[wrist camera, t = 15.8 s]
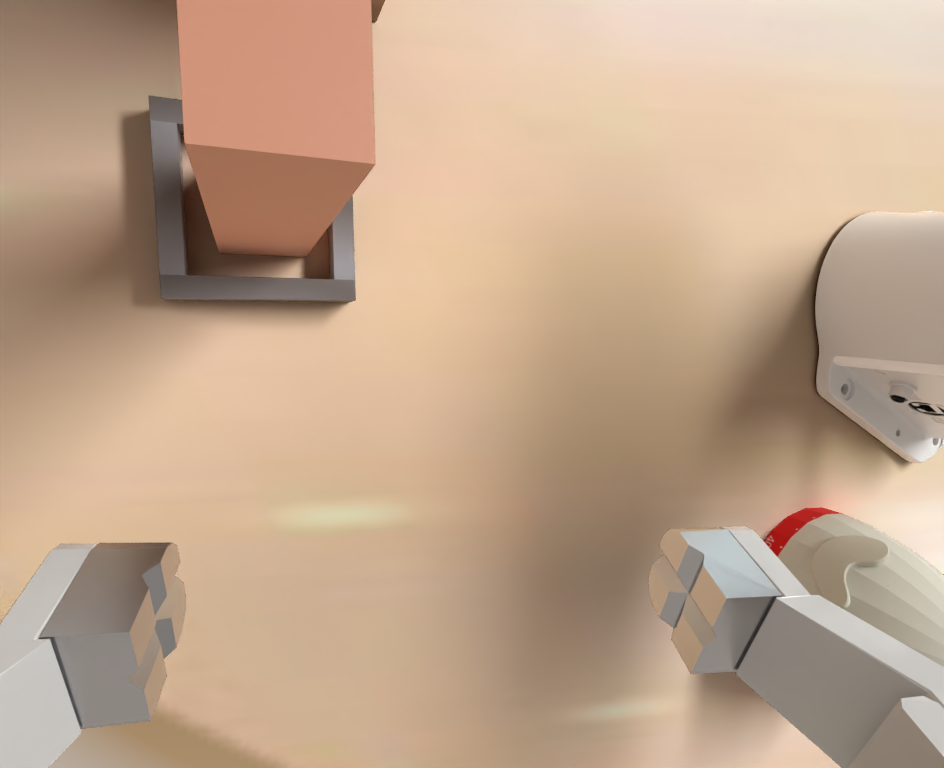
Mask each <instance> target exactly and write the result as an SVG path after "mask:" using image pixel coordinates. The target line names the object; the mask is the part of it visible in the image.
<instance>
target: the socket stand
mask: <svg viewBox="0 0 944 768" xmlns="http://www.w3.org/2000/svg"><path fill="white" fill-rule="evenodd" d="M384 1H385V0H371V12H372V21H375V22H376V21H377V18H378V16H379V14H380V11H381V9H382V6H383V4H384ZM149 110H150V126H151V143H152V159H153V175H154V192H155V208H156V224H157V241H158V257H159V273H160V290H161V298H163V299H165V300H226V301H306V302H352V301H355V300H356V298H355V264H354V231H353V197H352V196H351V197H350V199H349V200H348V202H347V203H346V204H345V206H344V207H343V208H342V210H341V211H340V212H339V214H338V215H337V216H336V218H335V219H334V220H333V222H332V223H331V224H330V226H329V227H328V236H329V266H330V279H304V278H268V277H232V276H196V275H188V261H187V243H186V225H185V208H184V190H183V172H182V155H181V137H180V135H184V125H183V107H182V100H177V99H170V98H162V97H155V96H149Z"/></svg>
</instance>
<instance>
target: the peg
mask: <svg viewBox="0 0 944 768" xmlns="http://www.w3.org/2000/svg"><path fill="white" fill-rule="evenodd" d="M177 18H178V36H179V54H180V72H181V89H182V107H183V125H184V143H185V146H186V150H187V153H188V156H189V159H190V162H191V165H192V169H193V172H194V175H195V178H196V181H197V184H198V188H199V191H200V194H201V197H202V200H203V203H204V207H205V210H206V213H207V216H208V219H209V222H210V226H211V229H212V232H213V235H214V238H215V241H216V245H217V248H218V251H219V253H230V254H254V255H277V256H301V257H306V256H307V255H308V254H309V252H310V251H311V250H312V248H313V247H314V246H315V244H316V243H317V242H318V240H319V239H320V238H321V236H322V235H323V234H324V232H325V231H326V230H327V228H328V227H329V226H330V224H331V223H332V222H333V220H334V219H335V218H336V216H337V215H338V214H339V212H340V211H341V210H342V208H343V207H344V206H345V204H346V203H347V202H348V200H349V199H350V197H351V196H352V195H353V193H354V192H355V191H356V189H357V188H358V187H359V185H360V184H361V183H362V181H363V180H364V179H365V177H366V176H367V175H368V173H369V172H370V171H371V169H372V168H373V167H374V165H375V127H374V89H373V50H372V12H371V0H177Z"/></svg>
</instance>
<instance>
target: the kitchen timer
mask: <svg viewBox="0 0 944 768" xmlns="http://www.w3.org/2000/svg"><path fill="white" fill-rule="evenodd" d="M764 542H765V544H766V545H767V546H768V547H769V548H770V549H771V550H772V552H773V553H774V554H775V555H776V556H777V557H778V558H779V559H780V561H781V562H782V563H783V564H784V565H785V566H786V567H787V569H788V570H789V571H790V572H791V573H792V574H793V575H794V577H795V578H796V579H797V580H798V581H799V582H800V583H801V584H802V586H803V587H804V588H805V589H806V590H807V591H808V592H809V594H810V595H820V596H821V597H823V598H825V599H827V600H828V601H830V602H832V603H833V604H835V605H837V606H839V607H840V608H842V609H844V610H846V611H847V612H849V613H851V614H853V615H854V616H856V617H858V618H859V619H861V620H863V621H865V622H866V623H868V624H870V625H872V626H873V627H875V628H877V629H879V630H880V631H882V632H884V633H885V634H887V635H889V636H891V637H892V638H894V639H896V640H898V641H899V642H901V643H903V644H904V645H906V646H908V647H910V648H911V649H913V650H915V651H917V652H918V653H920V654H922V655H924V656H925V657H927V658H929V659H930V660H932V661H934V662H936V663H937V664H939V665H941V666H943V667H944V574H942V573H941V572H939V571H938V570H937V569H936V568H935V567H934V566H933V565H932V564H931V563H929V562H928V561H927V560H925V559H924V558H923V557H921V556H920V555H919V554H917V553H916V552H914V551H913V550H911V549H910V548H908V547H906V546H905V545H903V544H902V543H900V542H899V541H897V540H895V539H894V538H892V537H891V536H889V535H887V534H886V533H884V532H882V531H880V530H879V529H877V528H875V527H873V526H871V525H869V524H867V523H864V522H862V521H859V520H857V519H854V518H852V517H849V516H847V515H844V514H842V513H839V512H835V511H832V510H828V509H825V508H805V509H803V510H801V511H799V512H796V513H794V514H792V515H790V516H788V517H787V518H785V519H784V520H783V521H782V522H781V523H780V524H779V525H777V526H776V527H775V528H774V529H773V530H772V531H771V532H770V533H769V535H768V536H767V538H766V539H765V541H764Z"/></svg>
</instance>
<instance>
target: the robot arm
mask: <svg viewBox="0 0 944 768" xmlns="http://www.w3.org/2000/svg"><path fill="white" fill-rule="evenodd" d="M815 315H816V327H817V334H818V341H819V360H818V367H817V376H816V386H817V391H818V393H819V394H820V396H821V397H823V398H824V399H825V400H827V401H828V402H829V403H831V404H832V405H833V406H835V407H836V408H837V409H839V410H840V411H841V412H843V413H844V414H845V415H846V416H848V417H849V418H850V419H852V420H853V421H854V422H856V423H857V424H858V425H860V426H861V427H862V428H864V429H865V430H866V431H868V432H869V433H870V434H872V435H873V436H874V437H876V438H877V439H878V440H880V441H881V442H882V443H884V444H885V445H886V446H888V447H889V448H890V449H892V450H893V451H894V452H895V453H897V454H898V455H899V456H901V457H902V458H904V459H905V460H906V461H908V462H915V463H922V462H924V461H926V460H928V459H929V458H931V457H932V456H933V455H934V454H935V453H936V452H938V451H939V450H940V448H941V447H942V446H943V445H944V211H942V212H935V211H931V210H929V211H919V212H913V213H901V212H882V211H873V212H868V213H864V214H862V215H860V216H858V217H856V218H855V219H853V220H852V221H850V222H849V223H848V224H847V225H846V226H845V227H844V228H843V229H842V230H841V231H840V233H839V234H838V235H837V236H836V238H835V239H834V241H833V243H832V244H831V246H830V248H829V250H828V252H827V254H826V257H825V259H824V262H823V265H822V268H821V271H820V275H819V280H818V285H817V291H816V304H815ZM660 547H661V549H662V551H663V553H664V554H663V555H662V556H661V557H660V558H659V559H658V560H657V561H655V562H654V563H653V565H652V568H651V571H650V574H649V577H648V581H649V594H650V598H651V601H652V604H653V606H654V608H655V610H656V612H657V614H658V616H659V617H660V618H661V619H662V620H664V621H665V622H666V623H668V624H669V625H670V626H672V627H673V632H672V638H671V640H672V641H673V643H674V645H675V647H676V649H677V650H678V652H679V654H680V656H681V658H682V659H683V661H684V663H685V665H686V666H687V668H688V670H689V672H690V674H702V673H720V672H736V675H737V676H738V677H739V678H740V679H741V680H743V681H744V682H745V683H746V684H747V685H748V686H749V687H751V688H752V689H753V690H754V691H755V692H756V693H757V694H759V695H760V696H761V697H762V698H763V699H764V700H765V701H766V702H768V703H769V704H770V705H771V706H772V707H773V708H774V709H776V710H777V711H778V712H779V713H780V714H781V715H782V716H783V717H785V718H786V719H787V720H788V721H789V722H790V723H791V724H793V725H794V726H795V727H796V728H797V729H798V730H799V731H801V732H802V733H803V734H804V735H805V736H806V737H807V738H808V739H810V740H811V741H812V742H813V743H814V744H815V745H816V746H818V747H819V748H820V749H821V750H822V751H823V752H824V753H826V754H827V755H828V756H829V757H830V758H831V759H832V760H833V761H835V762H836V763H837V764H838V765H839V766H840V767H841V768H944V667H943V666H941V665H939V664H937V663H936V662H934V661H932V660H930V659H929V658H927V657H925V656H924V655H922V654H920V653H918V652H917V651H915V650H913V649H911V648H910V647H908V646H906V645H904V644H903V643H901V642H899V641H898V640H896V639H894V638H892V637H891V636H889V635H887V634H885V633H884V632H882V631H880V630H879V629H877V628H875V627H873V626H872V625H870V624H868V623H866V622H865V621H863V620H861V619H859V618H858V617H856V616H854V615H853V614H851V613H849V612H847V611H846V610H844V609H842V608H840V607H839V606H837V605H835V604H833V603H832V602H830V601H828V600H827V599H825V598H823V597H821V596H820V595H810V594H809V592H808V591H807V590H806V589H805V588H804V587H803V586H802V584H801V583H800V582H799V581H798V580H797V579H796V578H795V577H794V575H793V574H792V573H791V572H790V571H789V570H788V569H787V567H786V566H785V565H784V564H783V563H782V562H781V561H780V559H779V558H778V557H777V556H776V555H775V554H774V553H773V552H772V550H771V549H770V548H769V547H768V546H767V545H766V544H765V542H764V541H763V540H762V539H761V538H760V537H759V536H758V534H757V533H756V532H755V531H754V530H752V529H750V528H748V527H747V526H733V527H720V528H716V527H713V528H686V529H669V530H668V531H667V532H666V533H665V534H664V535H663V538H662V541H661V543H660ZM179 564H180V557H179V552H178V548H177V545H176V544H174V543H99V544H60V545H58V546H57V547H55V548H54V549H52V550H51V551H50V552H49V553H48V555H47V556H46V558H45V559H44V561H43V562H42V564H41V565H40V567H39V568H38V569H37V571H36V572H35V574H34V575H33V577H32V578H31V580H30V581H29V582H28V584H27V585H26V587H25V588H24V590H23V591H22V593H21V594H20V595H19V597H18V598H17V600H16V601H15V603H14V604H13V606H12V607H11V609H10V610H9V611H8V613H7V614H6V616H5V617H4V619H3V620H2V622H1V623H0V768H48V767H49V766H50V765H51V764H52V763H53V762H54V761H55V760H56V759H57V758H58V757H59V756H60V755H61V754H62V753H63V752H64V750H66V749H67V748H68V746H70V745H71V743H72V742H73V741H74V740H75V739H76V738H77V737H78V736H79V735H80V734H81V729H85V728H94V727H103V726H110V725H111V726H112V725H120V724H128V723H137V722H146V721H151V720H152V717H153V714H154V711H155V708H156V705H157V703H158V700H159V697H160V694H161V691H162V688H163V685H164V682H165V680H166V677H167V674H166V668H165V663H164V658H165V657H166V656H167V655H169V654H170V653H171V652H172V651H173V650H174V649H175V648H176V647H177V644H178V641H179V638H180V635H181V632H182V628H183V622H184V616H185V610H186V593H185V587H184V582H182V581H181V580H180V579H179V578H177V577H176V576H175V574H176V572H177V569H178V566H179Z"/></svg>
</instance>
